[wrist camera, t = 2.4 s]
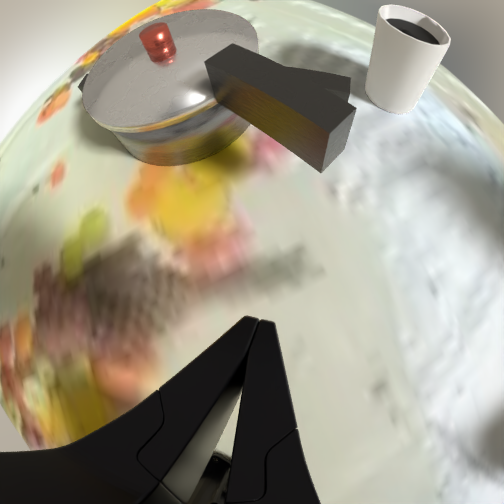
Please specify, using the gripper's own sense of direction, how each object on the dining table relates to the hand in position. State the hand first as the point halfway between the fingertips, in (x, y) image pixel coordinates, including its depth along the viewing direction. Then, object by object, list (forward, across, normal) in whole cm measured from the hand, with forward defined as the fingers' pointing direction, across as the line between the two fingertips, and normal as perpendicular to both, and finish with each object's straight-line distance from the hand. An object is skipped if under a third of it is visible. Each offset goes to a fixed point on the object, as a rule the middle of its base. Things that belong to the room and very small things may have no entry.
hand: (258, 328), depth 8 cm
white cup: (+27, -8, -8) cm, 29 cm away
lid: (+17, +9, -6) cm, 20 cm away
